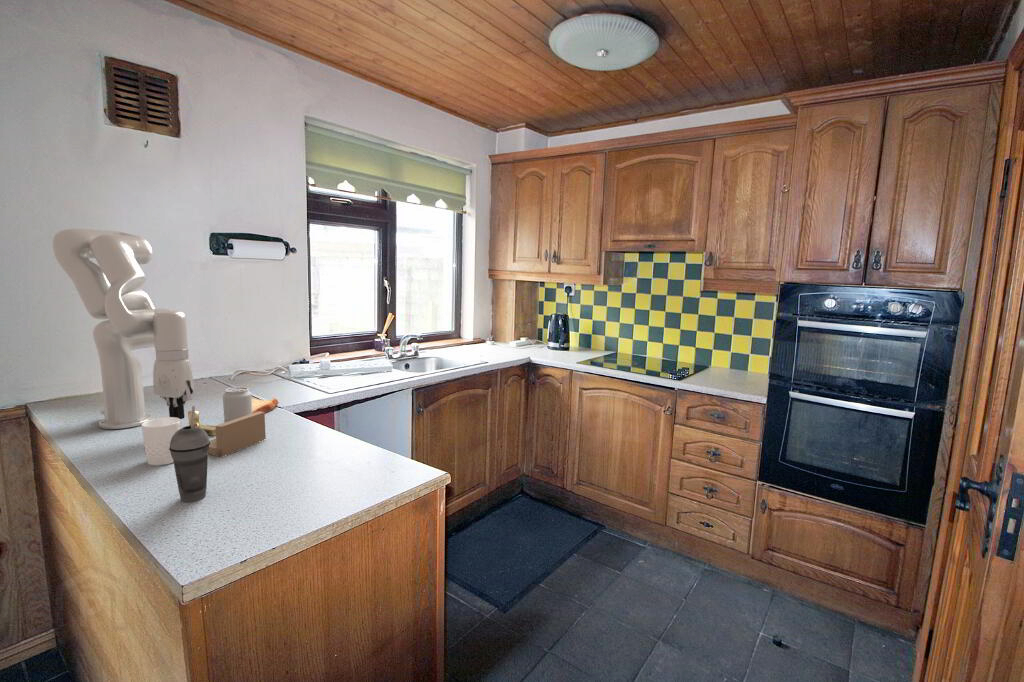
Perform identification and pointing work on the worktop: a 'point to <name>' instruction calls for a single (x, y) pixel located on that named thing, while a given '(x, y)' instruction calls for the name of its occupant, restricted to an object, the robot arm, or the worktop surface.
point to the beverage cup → (190, 461)
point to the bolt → (208, 429)
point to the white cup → (159, 439)
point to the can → (237, 403)
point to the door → (236, 434)
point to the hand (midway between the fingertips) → (177, 419)
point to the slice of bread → (263, 405)
